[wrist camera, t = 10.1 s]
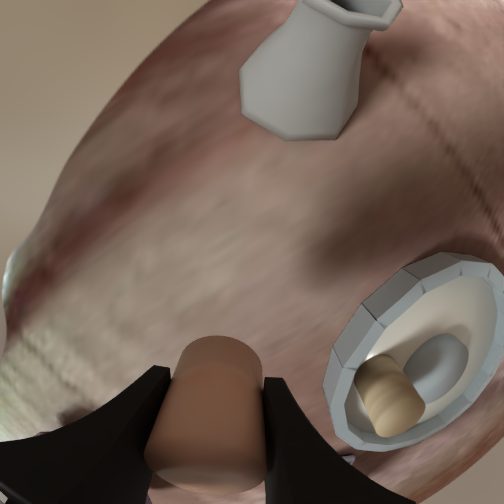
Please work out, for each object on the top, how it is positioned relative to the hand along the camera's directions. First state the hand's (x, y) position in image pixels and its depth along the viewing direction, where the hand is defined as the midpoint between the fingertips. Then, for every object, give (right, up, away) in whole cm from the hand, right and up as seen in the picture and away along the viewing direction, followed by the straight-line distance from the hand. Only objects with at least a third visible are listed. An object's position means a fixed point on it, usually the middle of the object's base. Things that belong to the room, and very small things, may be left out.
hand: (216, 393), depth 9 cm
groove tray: (+16, -4, +9) cm, 18 cm away
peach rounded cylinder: (0, 0, +1) cm, 1 cm away
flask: (+4, +15, +5) cm, 16 cm away
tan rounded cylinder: (+10, -4, +8) cm, 13 cm away
